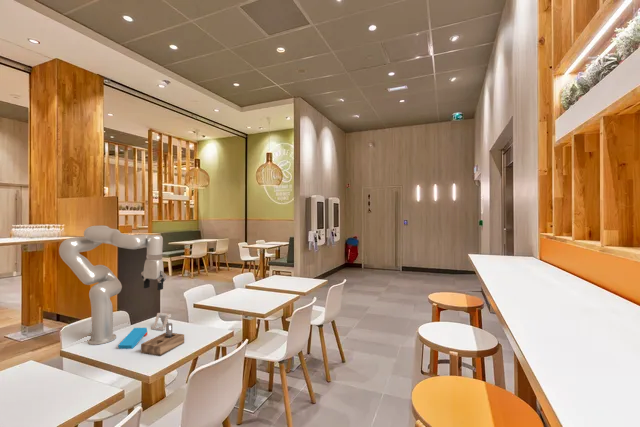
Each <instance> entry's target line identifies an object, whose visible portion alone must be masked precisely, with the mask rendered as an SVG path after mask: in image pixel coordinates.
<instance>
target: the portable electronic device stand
mask: <svg viewBox="0 0 640 427" xmlns="http://www.w3.org/2000/svg"><path fill="white" fill-rule="evenodd" d="M171 317H172V313H166V312H165V313H163V312H157V313H156V316H155V319H154V323H153V325H151V326H150V330H153V331H154V330H156V331H163V332H164V331H166V324H168V323H170V322H169V319H170V318H171ZM159 318H160V321H161V323H162V326H158V327H157V325H158V322H159Z"/></svg>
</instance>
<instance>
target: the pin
mask: <svg viewBox="0 0 640 427" xmlns="http://www.w3.org/2000/svg"><path fill="white" fill-rule="evenodd" d="M165 332H166V338H171V337H172V333H173V323H172V322H169V323H168V324H166V328H165Z"/></svg>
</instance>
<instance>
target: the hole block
mask: <svg viewBox="0 0 640 427" xmlns="http://www.w3.org/2000/svg"><path fill="white" fill-rule="evenodd" d="M183 344H185V334H182V333H176V332H172V337H171V338H166V331H165V332H163V333H161V334H159V335H157V336H155V337H152V338H151V339H149V340H146V341H145V342H143V343H141V344H140V352H141V354H144V355H151V356H157V357H162V356H164V355H165V354H167V353H169V352H171V351H173V350H174V349H176V348H178V347H180V346H181V345H183Z"/></svg>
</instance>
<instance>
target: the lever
mask: <svg viewBox="0 0 640 427" xmlns="http://www.w3.org/2000/svg"><path fill="white" fill-rule="evenodd" d="M147 335H148V328H147V327H133V329H131V331H130V332H129V333H128V334H127V335H126V336H125V337H124V339H123V340H122V341H120V343H119V344H118V345H117V346H118V349H119V350H123V349H124V350H127V349H128V350H132V349H134V348H135V346H136V345H137V344H138V343H139V342H140V341H141V340H142V338H143V337H144V338H145V337H147Z"/></svg>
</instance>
